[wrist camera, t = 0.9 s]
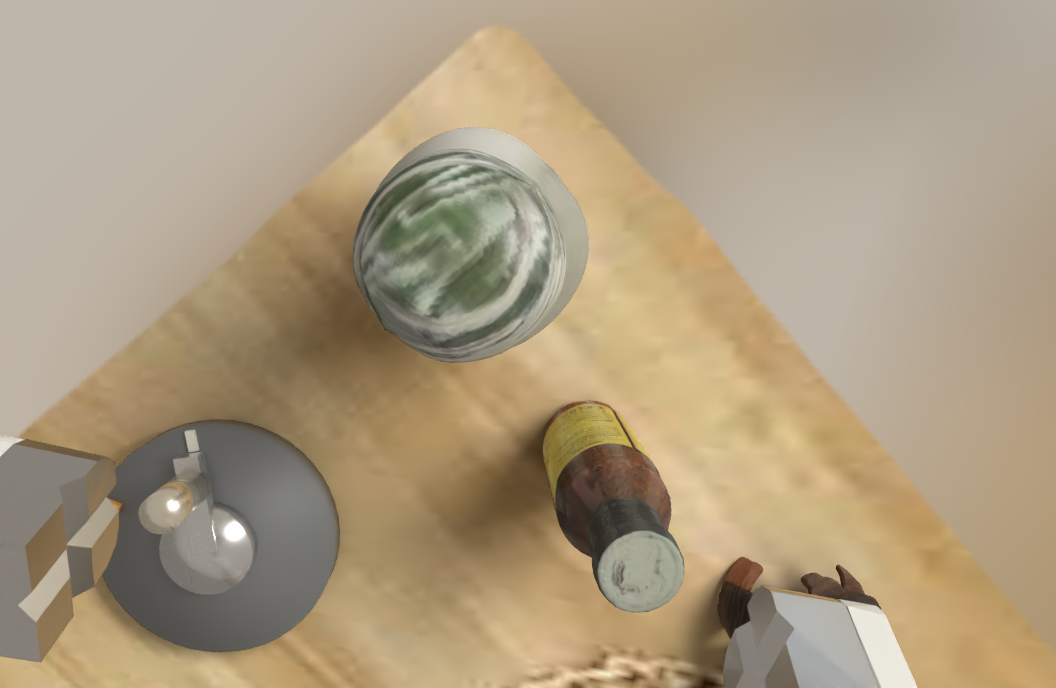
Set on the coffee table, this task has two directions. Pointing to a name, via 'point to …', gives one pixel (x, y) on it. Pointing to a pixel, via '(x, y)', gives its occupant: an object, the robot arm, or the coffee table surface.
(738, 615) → the pottery mug
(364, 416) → the coffee table surface
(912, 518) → the coffee table surface
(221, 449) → the dial plate
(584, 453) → the sauce bottle
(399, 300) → the grey bottle
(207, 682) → the coffee table surface
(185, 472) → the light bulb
